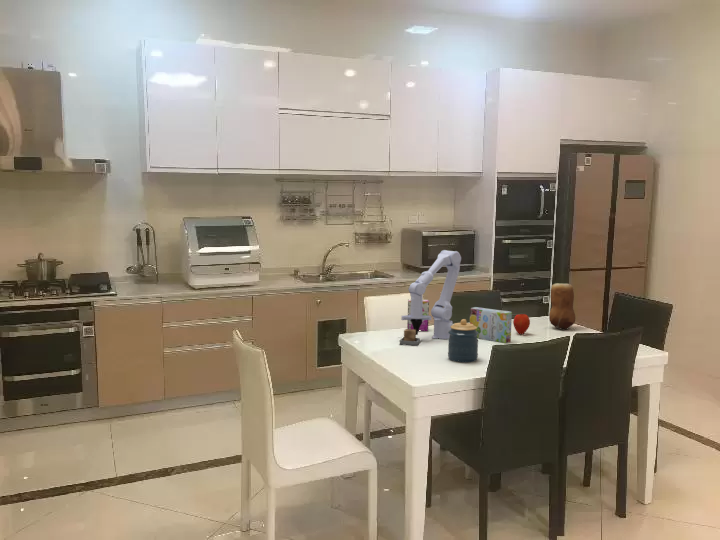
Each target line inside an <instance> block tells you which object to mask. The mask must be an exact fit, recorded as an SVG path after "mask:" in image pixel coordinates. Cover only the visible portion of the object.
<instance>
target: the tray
mask: <svg viewBox="0 0 720 540" xmlns="http://www.w3.org/2000/svg"><path fill="white" fill-rule="evenodd" d="M402 337H403V338H401V339H400V340H399V345H400V346H415V347H416V346H417V347H418V346H419V344H421V338H420V337H416V341H404V336H402Z"/></svg>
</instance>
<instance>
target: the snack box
mask: <svg viewBox="0 0 720 540" xmlns="http://www.w3.org/2000/svg"><path fill="white" fill-rule="evenodd" d="M512 319H513V312H512V311H508V310H500V309H492V308H487V307H486V308H484V307H477V306H474V307H471V308H469V323H471V324H473V325H474V326H476V327H477V329H476V331H477V332H478V333H479V334H478V335H477V339H479V340H485V339H486V341H491V342H498V343H504V344H506V343H507V344H508V343H510V342H511V339H512V324H513V321H512Z"/></svg>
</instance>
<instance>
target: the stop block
mask: <svg viewBox="0 0 720 540" xmlns="http://www.w3.org/2000/svg"><path fill="white" fill-rule="evenodd" d="M403 337H404V341H416V338H417V335H416V330H414V329H407V328H404V330H403Z"/></svg>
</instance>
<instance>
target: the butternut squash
mask: <svg viewBox="0 0 720 540" xmlns="http://www.w3.org/2000/svg"><path fill="white" fill-rule="evenodd" d="M574 300H575V292H574V287H573V285H572V284H570V283H558V282H557V283H556V282H555V283H553V284H552V285H551V288H550V302H551V309H550V311H549V314H548V316H549V317H548V319H549V323H550V324H551V325H552V326H554V327H555V328H557V329H559V328H561V329H560V330H563V329H565V330H568V329H570V328H571V327H572V326H573V325H574V324H575V323H576V314H575V313H576V312H575V310H574ZM567 328H568V329H567Z"/></svg>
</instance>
